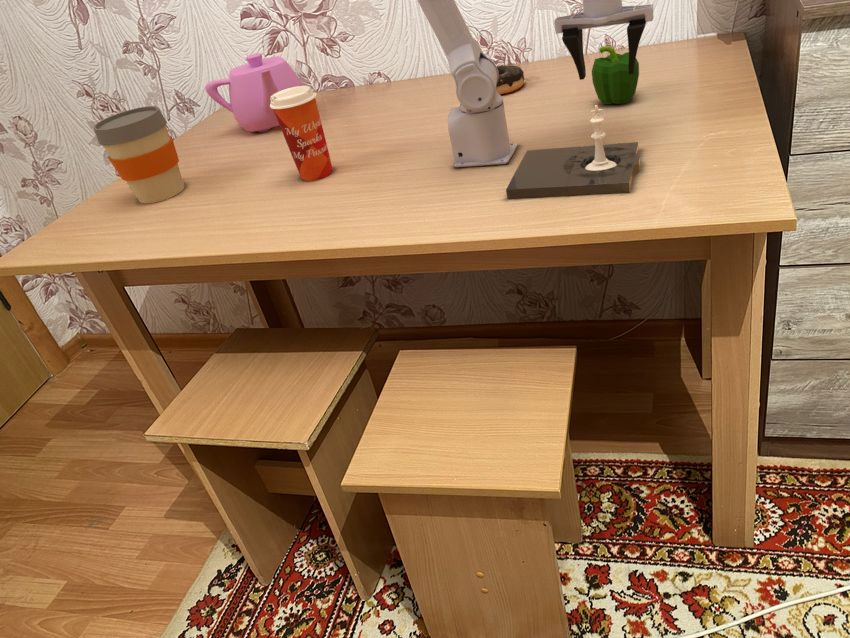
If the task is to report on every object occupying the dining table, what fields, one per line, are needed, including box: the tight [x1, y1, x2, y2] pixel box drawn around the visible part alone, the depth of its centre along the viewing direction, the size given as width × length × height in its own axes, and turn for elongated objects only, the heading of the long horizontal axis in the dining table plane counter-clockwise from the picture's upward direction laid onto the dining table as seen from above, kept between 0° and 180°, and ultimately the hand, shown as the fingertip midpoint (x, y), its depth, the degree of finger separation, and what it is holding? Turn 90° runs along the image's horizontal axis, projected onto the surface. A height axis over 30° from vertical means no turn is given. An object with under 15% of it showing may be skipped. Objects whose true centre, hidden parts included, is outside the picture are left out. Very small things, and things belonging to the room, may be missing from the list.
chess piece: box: [585, 104, 617, 171], centre depth 103 cm, size 5×5×10 cm
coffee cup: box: [270, 85, 334, 182], centre depth 124 cm, size 8×8×15 cm
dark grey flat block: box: [505, 141, 641, 200], centre depth 106 cm, size 19×15×2 cm
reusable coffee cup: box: [92, 105, 185, 204], centre depth 132 cm, size 13×13×15 cm
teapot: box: [204, 52, 304, 133], centre depth 155 cm, size 23×21×15 cm
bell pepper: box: [591, 45, 640, 105], centre depth 127 cm, size 8×8×10 cm
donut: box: [496, 64, 526, 95], centre depth 149 cm, size 11×12×4 cm
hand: (607, 75), depth 110 cm, fingers open, 7 cm apart
